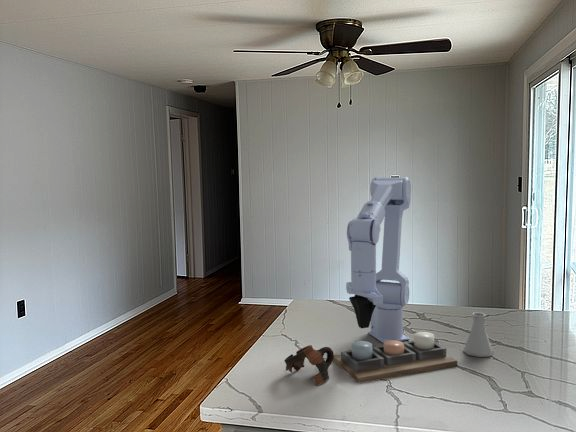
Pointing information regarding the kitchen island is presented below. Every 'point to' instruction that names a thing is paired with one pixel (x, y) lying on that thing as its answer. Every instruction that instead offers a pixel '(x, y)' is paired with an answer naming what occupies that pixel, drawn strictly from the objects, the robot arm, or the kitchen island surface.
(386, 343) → the terracotta key
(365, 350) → the pale blue dome
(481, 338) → the flask
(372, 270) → the robot arm
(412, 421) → the kitchen island surface
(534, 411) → the kitchen island surface
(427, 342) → the cream rounded piece
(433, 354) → the three-slot key tray
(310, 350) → the brown animal figure
